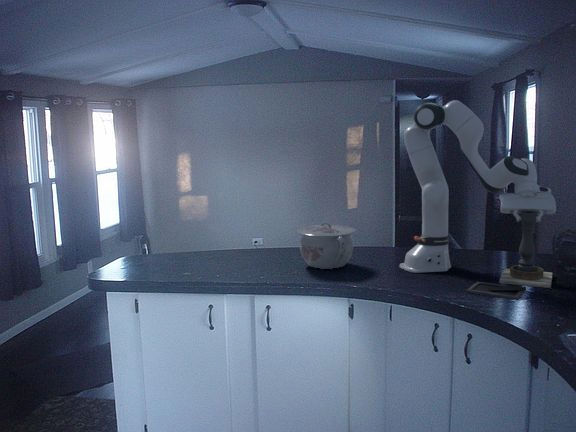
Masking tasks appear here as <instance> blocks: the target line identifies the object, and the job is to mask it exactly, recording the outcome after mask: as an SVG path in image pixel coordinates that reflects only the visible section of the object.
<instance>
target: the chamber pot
mask: <svg viewBox="0 0 576 432" xmlns="http://www.w3.org/2000/svg"><path fill="white" fill-rule="evenodd" d="M357 232H358V231H357V229H356V228H355V227H352V226H350V225H344V224H336V223H335V224H331V223H330V222H328V221H322V223H321V224H313V225H307V226H303V227H300V228H298V229H296V231H295V233H297V234H298V235H299V236H300V235H301V239H300V240H299V250H300V254H301V257H302V258H303V261H305V263H306V264H307V265H308V266H309V267H311V268H313V267H314V269H316V268H320V269H319V270H323V269H330V270H334V269H333V268H337V269H340V268H342V267H345V266H346V265H347V264H348V262H349V260H350V259H351V257H352V256H353V251H354V238H353V237H352V235H353V234H355V233H357ZM339 267H340V268H339Z"/></svg>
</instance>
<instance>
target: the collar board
mask: <svg viewBox="0 0 576 432" xmlns="http://www.w3.org/2000/svg"><path fill="white" fill-rule="evenodd" d="M518 265H519V264H515V265H511V266H510V267H509V268H504V270H503V271H502V274H501V276H500V278H499V284H503V285H506V284H507V285H513V286H514V285H515V286H523V287H537V288H546V289H547V288H548V289H551V287H552V280H553V272H548V271H545V270H544V268H542V267H540V266H535V265H534V266H535V272H523V271H518Z"/></svg>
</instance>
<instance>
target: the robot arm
mask: <svg viewBox="0 0 576 432" xmlns="http://www.w3.org/2000/svg"><path fill="white" fill-rule="evenodd" d="M413 120H414V124H412V125H409V126H408V127H407V128H406V129H405V130H404V132H403V139H404V140H403V141H404V144H405V148H406V152H407V154H408V155H407V156H408V158H409V160H410V161H409V162H410V163H411V166H412V169H413V172H414V173H415V176H416V178H417V180H418V183H419V185H420V188H421V217H422V218H421V221H422V223H421V235H420V236H417V235H415V236H414V237H413V240H414V241H417V244H416V245H414V246H413V247H412V248H411V249H410V250H409V251H407V252H406V254H405V258H404V262H402V263H399V268H400V269H402V270H403V269H404V270H403V271H406V272H409V273H415V274H416V273H436V272H438V273H439V272H448V271H449V270H450V269H452V264H451V260H450V254H449V252H450V251H449V245H450V236H449V202H450V201H449V197H450V194H449V193H450V191H449V185H448V183H447V180H446V177H445V173H444V172H443V169H442V167H441V164H440V161H439V159H438V156H437V153H436V150H435V146H434V145H433V142H432V140H431V132H432V131H433V130H434V129H435V128H437V127H439V126H440V125H444V126H447V127H448V128H449V129H450V130H451V131H452V132H453V133H454V135H456V137H457V139H458V141H459V149H460V152H461V154H462V155H463V157H464V159H465V160H466V161H467V163H468V164H469V166H470V167H471V169H472V170H473V171H474V172H475V174H476V176H477V178H478V179H479V181H480V183H481V185H482V187H483V189H484V190H485V191H487V192H489V193H493V194H498V193H501V192H502V191H503V190H504V189H505V188H506V187H507V186H509V185H510V184H511V183H513V184H514V192H503V193H501V194H500V195H499V196H498V197H499V201H500V212H501V214H512V215H513V216H514V217H515V219H516V222H517V223H518V222H519V223H520V222H521V212H522V211H533V212H537V215H536V221H535V223H541V218H542V216H543V215H554V214H555V213H556V211H557V204H556V199H555V196H554V195H553V194H552V189H551V188H550V187H547V186H546V187H545V186H543V185H539V184H538V173H537V168H536V165H535V163H534V162H533V161H532V160H531V159H529V158H519V157H516V156H512V155H508V156H506V157H504V158H503V159H501V160H500V161H498V162H497V163H496V164H495V165H493V167H491V168H489V167H488V165H487V164H486V163H485V161H484V159H483V158H482V157H481V156H480V154H479V151H478V149H479V145H480V142H481V140H482V138H483V135H484V130H485V129H484V128H485V127H484V123H483V122H482V120H481V119H480V117H478V116H477V114H476V113H474V112H473V111H472V110H471V109H470V108H469V107H468V106H467V105H465V104H464V103H463V102H461V101H460V100H458V99H456V100H454V99H453V100H451V101H448V102H447V103H446V104H444V105H443V106H441V105H439V104H438V103H435V102H426V103H423V104H420V105H419V106H418V107H417V108H416V109H415V111H414V114H413ZM521 223H522V222H521Z"/></svg>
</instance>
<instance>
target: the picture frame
mask: <svg viewBox="0 0 576 432" xmlns="http://www.w3.org/2000/svg"><path fill="white" fill-rule="evenodd" d="M465 291H466V292H467V294H472V293H473V295H479V294H480V296H485V297H486V296H487V297H493V298H499V299H500V298H501V299H507V300H513V301H518V300H520V298H521V297H522V296H523V295H524V294H525V293H526V292H527V286H524V285H514V284H513V285H508V284H507V285H506V284H500V283H492V282H484V281H483V282H482V281H475V283H473V284H472V285H470V286H469V287H468V288H467V289H466V290H465Z"/></svg>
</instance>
